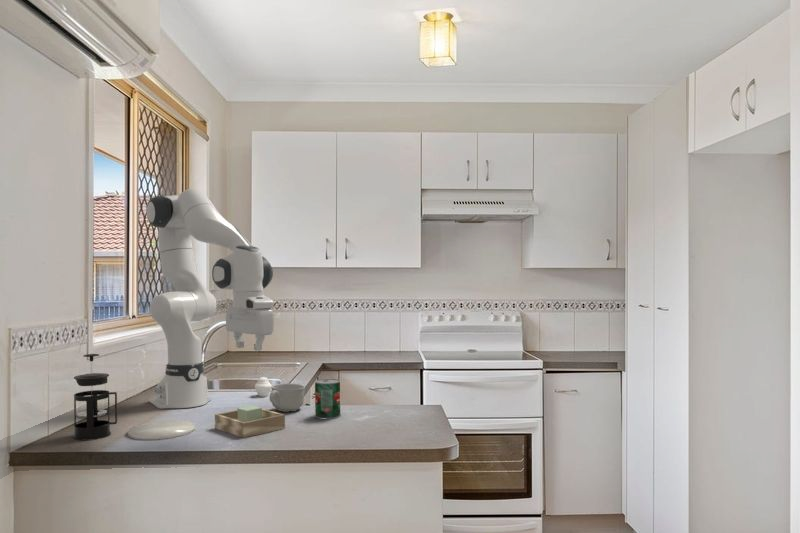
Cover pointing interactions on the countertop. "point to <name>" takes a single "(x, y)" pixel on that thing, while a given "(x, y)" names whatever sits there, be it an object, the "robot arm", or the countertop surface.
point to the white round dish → (161, 430)
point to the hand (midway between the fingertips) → (248, 348)
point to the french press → (92, 406)
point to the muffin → (263, 387)
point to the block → (249, 413)
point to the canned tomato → (327, 398)
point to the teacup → (287, 396)
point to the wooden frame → (249, 423)
